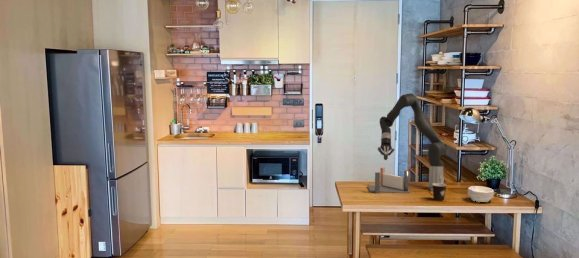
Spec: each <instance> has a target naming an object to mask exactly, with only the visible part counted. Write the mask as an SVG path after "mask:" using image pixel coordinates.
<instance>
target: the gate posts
mask: <svg viewBox="0 0 579 258" xmlns="http://www.w3.org/2000/svg"><path fill="white" fill-rule="evenodd" d="M403 171H404V172H403V173H404V174H403V177H404V191H408V189H409V179H410V174H409V173H410V170H408V169H407V170H406V169H405V170H403ZM374 185H375V193H374V194H381V193H380V172H374Z"/></svg>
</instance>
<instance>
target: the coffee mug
mask: <svg viewBox="0 0 579 258" xmlns="http://www.w3.org/2000/svg"><path fill="white" fill-rule="evenodd" d="M432 185H433V187H431V188H433V191H432V193H431V190H430V189H431V188H429V187H428V193H429V194H430V195H432V196H433V200H434V201H435V202H444V201H445V197H446V191H447V184H445V183H444V184H442V183H434V184H432ZM443 200H444V201H443Z"/></svg>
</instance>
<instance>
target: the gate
mask: <svg viewBox="0 0 579 258" xmlns="http://www.w3.org/2000/svg"><path fill="white" fill-rule="evenodd" d="M379 171H380V185H384V186H388V187H393V188H397V189H402V190H403V189H404V176H399V175H394V174H390V173H386V169H385V167H380V170H379Z"/></svg>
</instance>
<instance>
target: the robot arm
mask: <svg viewBox="0 0 579 258" xmlns="http://www.w3.org/2000/svg"><path fill="white" fill-rule="evenodd" d="M407 107H411V109H412V112H413V114H414V117H413V119H414V125H415V127H416V128H417V130H418V132H420V133H421V134H422V135H423V136H424V137H426V138H427V139H428V141H430V143H431V144H429V146H428V149H427V150H428V151H427V153H428V154H427V156H428V162H429V163H428V164H429V166H428V167H429V168H428V170H429V171H428V173H429V174H428V189H429V188H431V187H433V185H432V184H434V183H442V184H445V183H444V178H445V177H444V161H443V160H441V156H443V155H445V154H446V153H447V147H446V144H445V143H444V141H442V139H441V138H440V136H439V135H438V134H437V133H436V132H437V131H435V129H434V127H433V126H432V123H431V122H430V121H429V119H428V118H427V116H426V114H425V112H424V111H423V109H422V107H421V106H420V103H419V101H418V99H417V97H416V96H415V94H414V93H404V94H402V95H400V96H399V98H398V99H397V101H396V103H395V104H394V106H393V107H392V109H391V110H390V111H389V112H388V113H387V114H386V116H381V117H380V118H379V126H380V130H381V135H380V136H381V137H380V146H378V147H377V151H378V153H380V155H381V156H383V160H384V161H388V158H389V156H391V155H392V154H393V153H394V151H395V148H393V147H392V131H391V127H392V126H393V125H394V122H395V120H396V119H397V118H398V117H399V116H400V115H401V110H402V109H404V108H407ZM430 191H432V192H433V188H431V189H430Z"/></svg>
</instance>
